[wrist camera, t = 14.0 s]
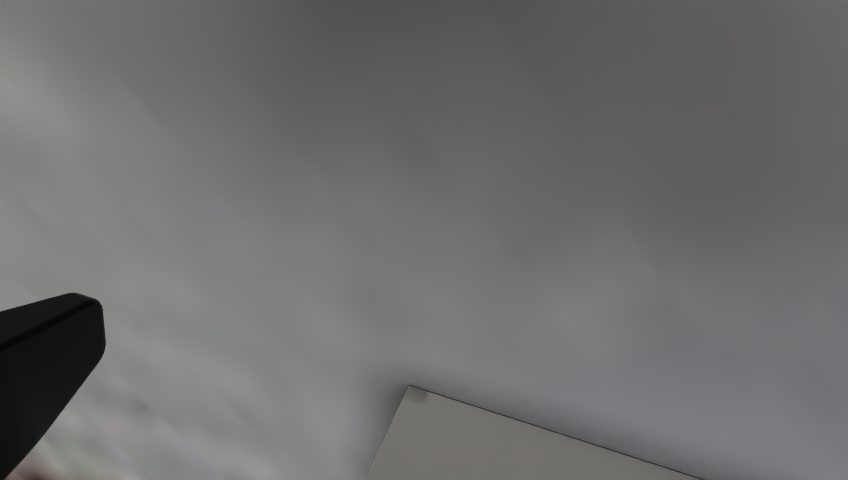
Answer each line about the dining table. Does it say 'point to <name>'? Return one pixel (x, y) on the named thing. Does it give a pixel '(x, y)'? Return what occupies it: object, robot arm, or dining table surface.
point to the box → (491, 448)
